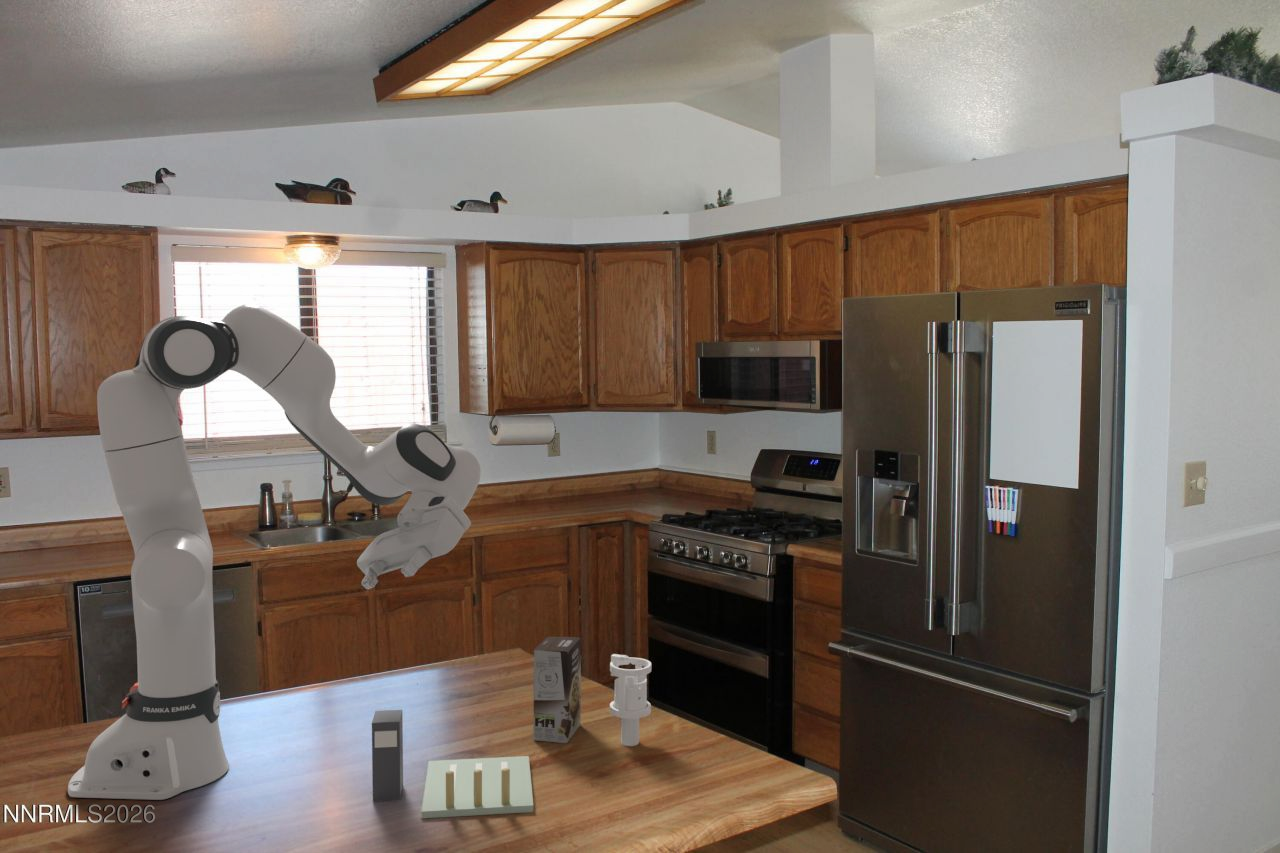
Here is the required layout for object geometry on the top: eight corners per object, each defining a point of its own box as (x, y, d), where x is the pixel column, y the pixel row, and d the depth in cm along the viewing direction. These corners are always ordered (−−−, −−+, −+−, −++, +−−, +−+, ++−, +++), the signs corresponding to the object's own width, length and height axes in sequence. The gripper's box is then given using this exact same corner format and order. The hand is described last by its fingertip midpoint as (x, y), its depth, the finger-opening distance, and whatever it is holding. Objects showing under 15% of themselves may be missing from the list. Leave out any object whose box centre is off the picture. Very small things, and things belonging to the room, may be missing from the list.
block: (372, 802, 151) (371, 723, 150) (376, 787, 156) (375, 710, 155) (400, 800, 152) (399, 722, 151) (403, 785, 157) (402, 709, 156)
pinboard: (421, 818, 146) (421, 777, 146) (428, 766, 164) (428, 730, 163) (533, 811, 148) (533, 772, 148) (528, 761, 166) (528, 726, 166)
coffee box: (568, 744, 174) (568, 651, 172) (532, 741, 175) (532, 649, 174) (582, 724, 183) (582, 636, 181) (547, 722, 184) (547, 634, 183)
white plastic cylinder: (620, 732, 179) (621, 648, 178) (657, 739, 176) (658, 654, 175) (602, 746, 173) (602, 659, 172) (639, 753, 170) (640, 665, 169)
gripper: (372, 522, 176) (331, 579, 165) (456, 493, 165) (417, 552, 154) (395, 548, 178) (356, 606, 168) (479, 521, 167) (442, 580, 157)
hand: (386, 580), depth 161 cm, fingers open, 8 cm apart
